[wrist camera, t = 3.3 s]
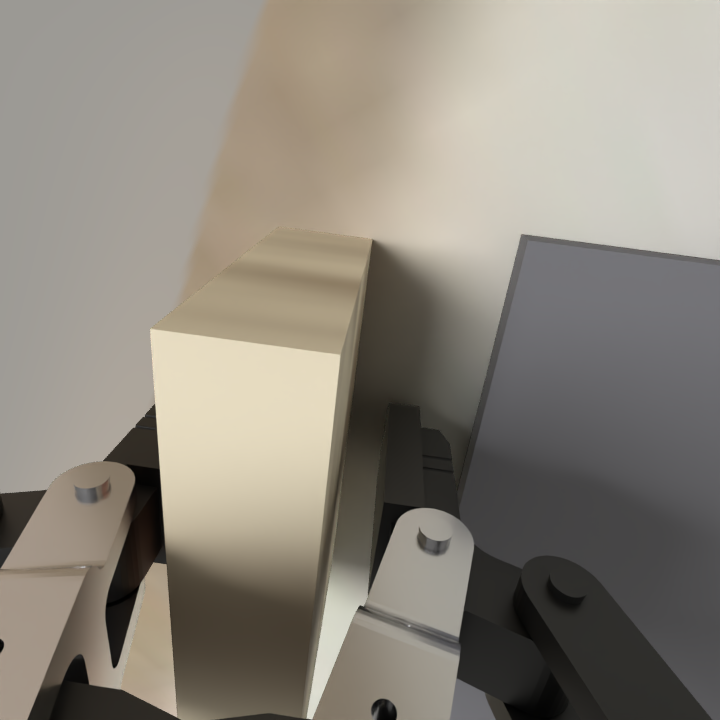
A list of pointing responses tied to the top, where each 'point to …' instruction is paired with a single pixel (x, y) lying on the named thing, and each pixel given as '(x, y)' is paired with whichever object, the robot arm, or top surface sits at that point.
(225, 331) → the wooden block
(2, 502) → the robot arm
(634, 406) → the mat
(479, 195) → the top surface
